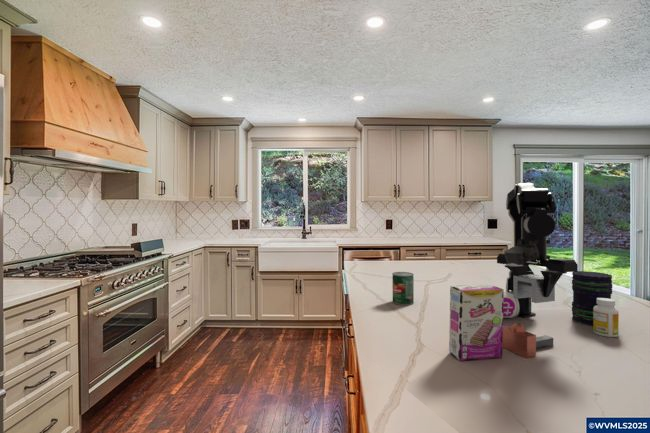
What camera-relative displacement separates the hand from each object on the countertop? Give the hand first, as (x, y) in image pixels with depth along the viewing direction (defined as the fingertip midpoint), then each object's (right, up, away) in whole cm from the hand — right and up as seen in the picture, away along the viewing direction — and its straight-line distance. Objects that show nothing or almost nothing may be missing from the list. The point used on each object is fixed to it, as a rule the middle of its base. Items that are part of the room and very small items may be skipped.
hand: (533, 294), depth 88 cm
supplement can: (-10, -8, +20) cm, 23 cm away
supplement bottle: (+23, -12, +5) cm, 27 cm away
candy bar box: (-20, -13, -10) cm, 25 cm away
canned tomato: (-26, -12, +38) cm, 47 cm away
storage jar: (+27, -12, +15) cm, 34 cm away
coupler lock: (0, -1, 0) cm, 1 cm away
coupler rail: (-4, -12, -5) cm, 14 cm away
